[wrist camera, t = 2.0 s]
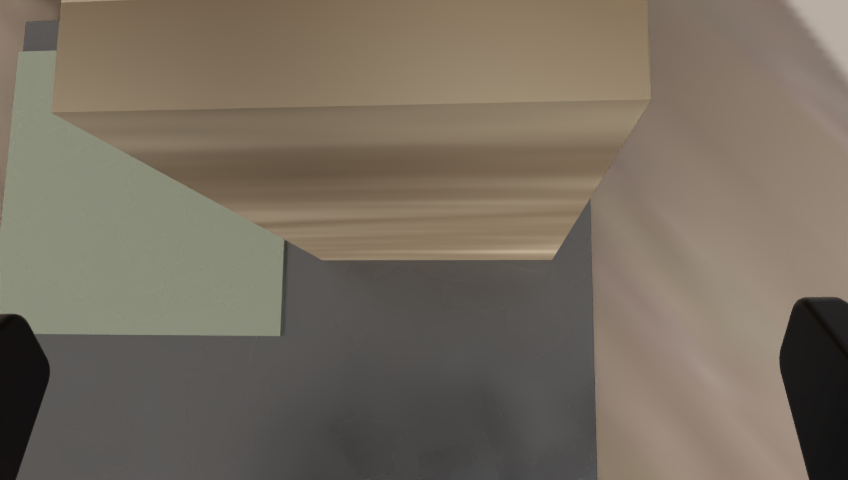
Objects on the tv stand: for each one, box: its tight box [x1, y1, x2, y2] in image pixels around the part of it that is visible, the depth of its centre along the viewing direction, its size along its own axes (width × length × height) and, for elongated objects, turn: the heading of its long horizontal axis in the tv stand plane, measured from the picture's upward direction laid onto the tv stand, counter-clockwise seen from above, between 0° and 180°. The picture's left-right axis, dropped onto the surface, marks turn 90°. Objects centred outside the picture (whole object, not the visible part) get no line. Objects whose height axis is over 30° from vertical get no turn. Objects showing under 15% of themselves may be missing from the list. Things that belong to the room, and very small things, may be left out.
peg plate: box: [0, 21, 597, 480], centre depth 18 cm, size 17×16×6 cm
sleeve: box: [51, 0, 651, 260], centre depth 14 cm, size 6×6×12 cm
